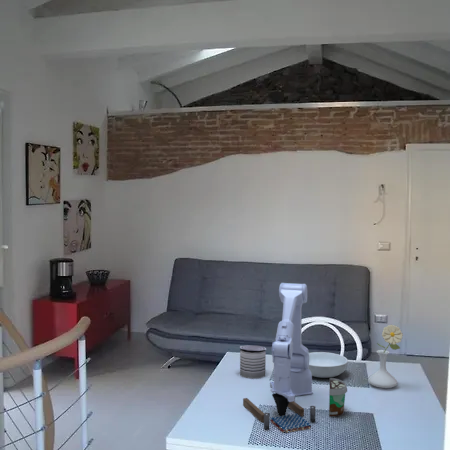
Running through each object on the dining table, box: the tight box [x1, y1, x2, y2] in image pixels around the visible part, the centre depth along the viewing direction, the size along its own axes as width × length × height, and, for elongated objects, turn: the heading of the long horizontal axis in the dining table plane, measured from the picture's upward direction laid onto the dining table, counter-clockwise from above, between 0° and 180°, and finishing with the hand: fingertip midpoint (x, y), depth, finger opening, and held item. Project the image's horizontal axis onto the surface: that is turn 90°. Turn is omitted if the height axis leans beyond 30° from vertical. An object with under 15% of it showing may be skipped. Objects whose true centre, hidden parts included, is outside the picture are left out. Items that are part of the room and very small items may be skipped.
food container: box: [328, 377, 348, 418], centre depth 185 cm, size 12×6×10 cm, turn 168°
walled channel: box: [242, 397, 305, 424], centre depth 186 cm, size 16×16×2 cm
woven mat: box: [270, 413, 312, 433], centre depth 174 cm, size 10×11×2 cm
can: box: [239, 344, 267, 380], centre depth 225 cm, size 11×11×12 cm
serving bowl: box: [308, 351, 349, 379], centre depth 225 cm, size 21×21×7 cm
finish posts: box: [263, 405, 316, 431], centre depth 174 cm, size 19×2×5 cm, turn 111°
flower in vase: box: [367, 324, 404, 389], centre depth 211 cm, size 13×11×25 cm
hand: (281, 415), depth 180 cm, fingers closed
